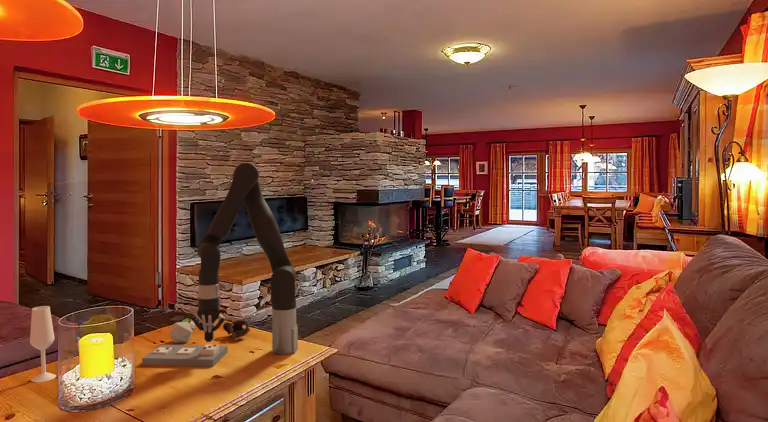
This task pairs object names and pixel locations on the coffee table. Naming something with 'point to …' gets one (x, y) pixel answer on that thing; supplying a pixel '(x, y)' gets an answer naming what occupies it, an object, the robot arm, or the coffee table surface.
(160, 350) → the two pip tile
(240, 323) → the pottery mug
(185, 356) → the button board
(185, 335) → the die
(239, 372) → the coffee table surface
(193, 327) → the geometric puzzle
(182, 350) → the one pip tile
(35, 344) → the champagne flute
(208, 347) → the three pip tile
